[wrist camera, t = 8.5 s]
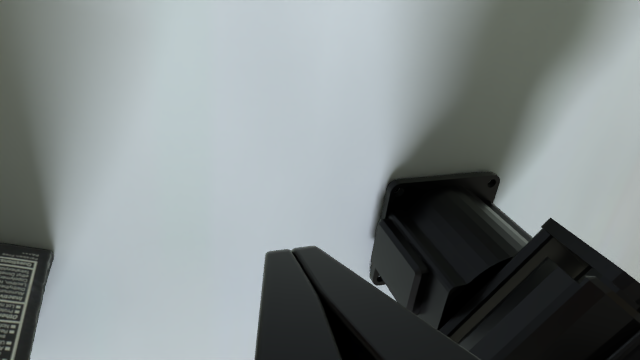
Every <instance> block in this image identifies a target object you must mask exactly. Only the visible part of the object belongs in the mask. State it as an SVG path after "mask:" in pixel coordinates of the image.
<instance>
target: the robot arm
mask: <svg viewBox="0 0 640 360" xmlns="http://www.w3.org/2000/svg"><path fill="white" fill-rule="evenodd" d="M490 180H491V181H490ZM489 181H490V182H489ZM488 182H489V183H488ZM499 183H500V178H499V177H498V176H497V175H496V174H495V173H493V172H479V173H467V174H455V175H443V176H432V177H420V178H408V179H397V180H394V181H392V182H391V183H390V184H389V185H388V187H387V189H386V194H385V199H384V205H383V210H382V215H381V220H380V221H379V223H378V225H377V231H376V236H375V241H374V246H373V251H372V256H371V262H372V266H371V271H370V279H371V280H372V282H373V283H374V284H375V285H384V284H386V285H387V287H388V288H389V290H390V292H391V293H392V295H393V296H394V298H395V299H396V301H397V302H396V301H395V300H393V299H392V298H391V297H389V296H388V295H386V294H385V293H383V292H382V291H380V290H379V289H377V288H376V287H375V286H373V285H372V284H370V283H369V282H367V281H366V280H364V279H363V278H362V277H360V276H359V275H357V274H356V273H354V272H353V271H351V270H350V269H348V268H347V267H346V266H344V265H343V264H341V263H340V262H338V261H337V260H335V259H334V258H332V257H331V256H330V255H328V254H327V253H325V252H324V251H322V250H321V249H319V248H318V247H316V246H307V247H299V248H294V249H293V250H292V251H291V250H288V249H284V250H276V251H269V252H267V253H266V255H265V264H264V273H263V283H262V293H261V302H260V312H259V322H258V331H257V341H256V351H255V360H640V283H639V282H637V281H636V280H635V279H634V278H632V277H631V276H630V275H628V274H627V273H626V272H625V271H623V270H622V269H621V268H619V267H618V266H616V265H615V264H614V263H612V262H611V261H610V260H608V259H607V258H605V257H604V256H603V255H601V254H600V253H599V252H597V251H596V250H594V249H593V248H592V247H590V246H589V245H588V244H586V243H585V242H583V241H582V240H581V239H579V238H578V237H576V236H575V235H574V234H572V233H571V232H570V231H568V230H567V229H565V228H564V227H563V226H561V225H560V224H559V223H557V222H556V221H554V220H553V219H552V218H550V219H549V220H547V221H546V222H545V223H544V224H543V225H542V226H541V227H542V228H543V229H541V230H540V231H539V232H538V233H537V234H536V235H535V236H534V237H533V238H532V237H531V236H530V235H529V234H528V233H526V232H525V231H524V230H523V229H522V228H521V227H520V226H518V225H517V224H516V223H515V222H514V221H513V220H511V219H510V218H509V217H508V216H507V215H506V214H505V213H503V212H502V211H501V210H500V209H499V208H498V207H496V206H495V205H494V204H493V201H494V198H495V195H496V192H497V189H498V186H499ZM398 188H400V189H399V191H397V192H395V191H396V190H397V189H398ZM378 276H379V277H378Z"/></svg>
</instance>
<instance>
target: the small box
mask: <svg viewBox="0 0 640 360" xmlns="http://www.w3.org/2000/svg"><path fill="white" fill-rule="evenodd" d="M53 258H54V254H53V253H52V252H51V251H49V250H43V249H36V248H30V247H23V246H17V245H10V244H3V243H0V360H30V355H31V351H32V345H33V341H34V336H35V332H36V327H37V322H38V317H39V312H40V308H41V304H42V300H43V294H44V291H45V285H46V282H47V278H48V275H49V272H50V268H51V265H52V262H53Z"/></svg>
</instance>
